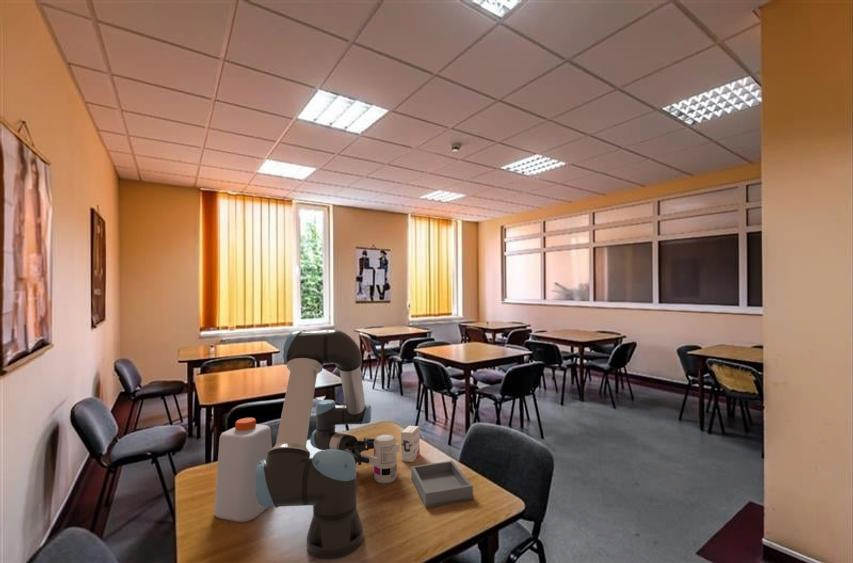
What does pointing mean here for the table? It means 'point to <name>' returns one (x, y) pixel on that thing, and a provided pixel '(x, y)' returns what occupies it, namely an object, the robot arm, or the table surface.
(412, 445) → the ink box
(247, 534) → the table surface
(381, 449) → the supplement can
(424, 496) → the tote
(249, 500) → the plastic bottle
